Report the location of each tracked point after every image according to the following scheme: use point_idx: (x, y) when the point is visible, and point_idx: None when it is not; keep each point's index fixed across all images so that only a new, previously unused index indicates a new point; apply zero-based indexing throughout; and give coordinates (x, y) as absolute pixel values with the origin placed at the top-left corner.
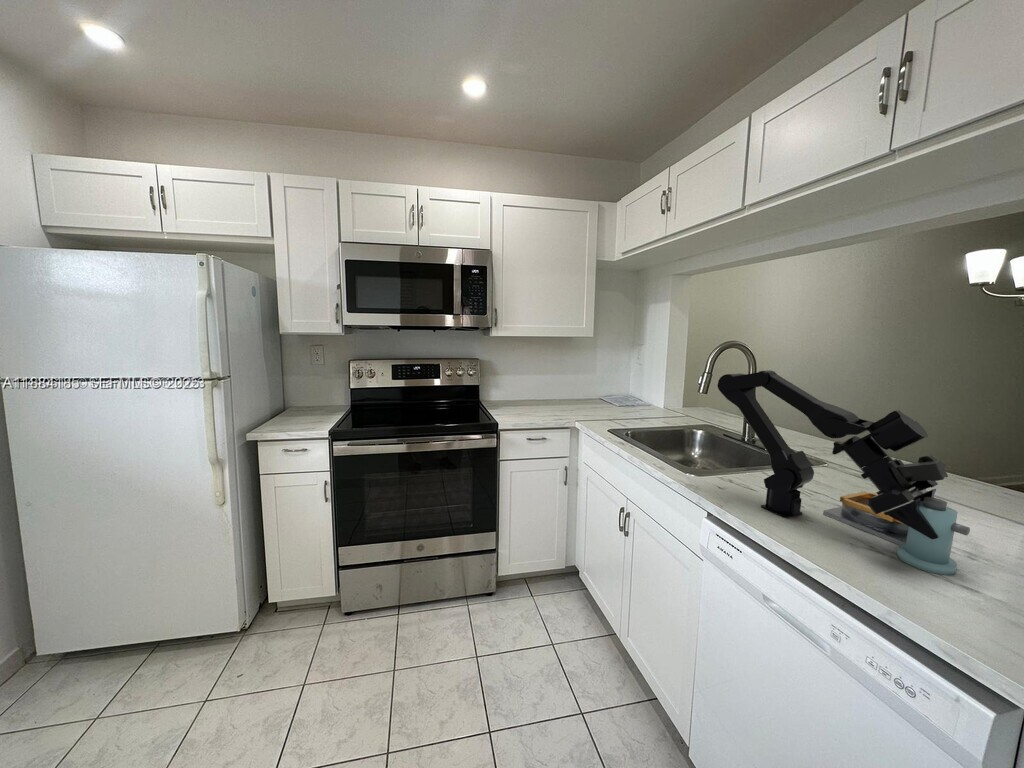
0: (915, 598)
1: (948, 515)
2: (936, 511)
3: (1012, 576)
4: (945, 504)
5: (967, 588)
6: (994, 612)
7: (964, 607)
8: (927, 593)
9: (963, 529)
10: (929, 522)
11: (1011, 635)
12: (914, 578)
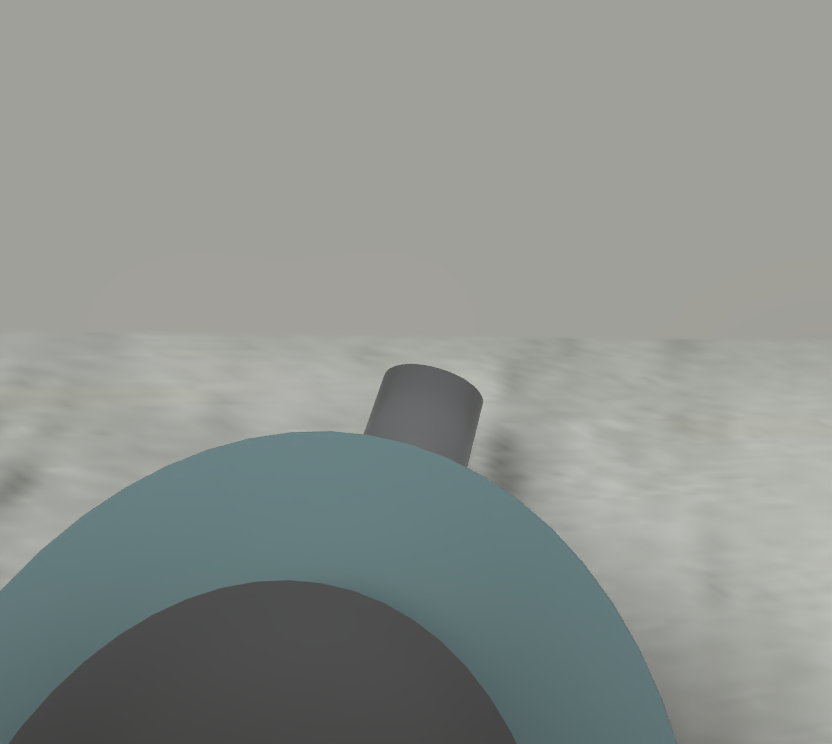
0: None
1: (550, 533)
2: (582, 731)
3: (148, 341)
4: (385, 605)
5: (509, 475)
6: (657, 388)
7: (741, 472)
8: (781, 610)
9: (476, 412)
10: None
11: (791, 348)
12: (662, 695)
